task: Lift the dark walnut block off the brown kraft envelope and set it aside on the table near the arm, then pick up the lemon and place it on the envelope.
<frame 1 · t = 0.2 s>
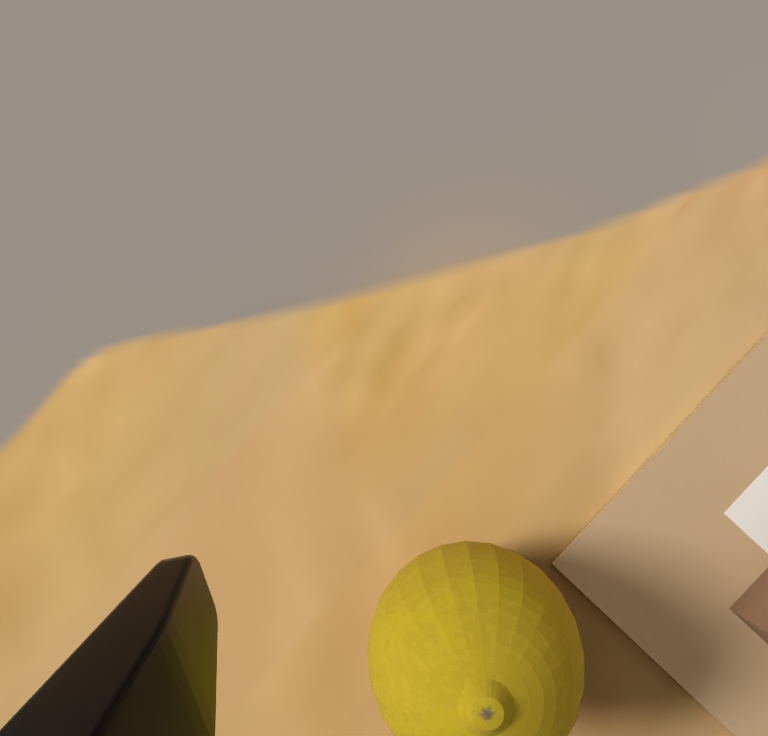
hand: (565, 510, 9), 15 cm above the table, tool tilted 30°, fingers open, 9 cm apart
lemon: (463, 608, 23), on the table
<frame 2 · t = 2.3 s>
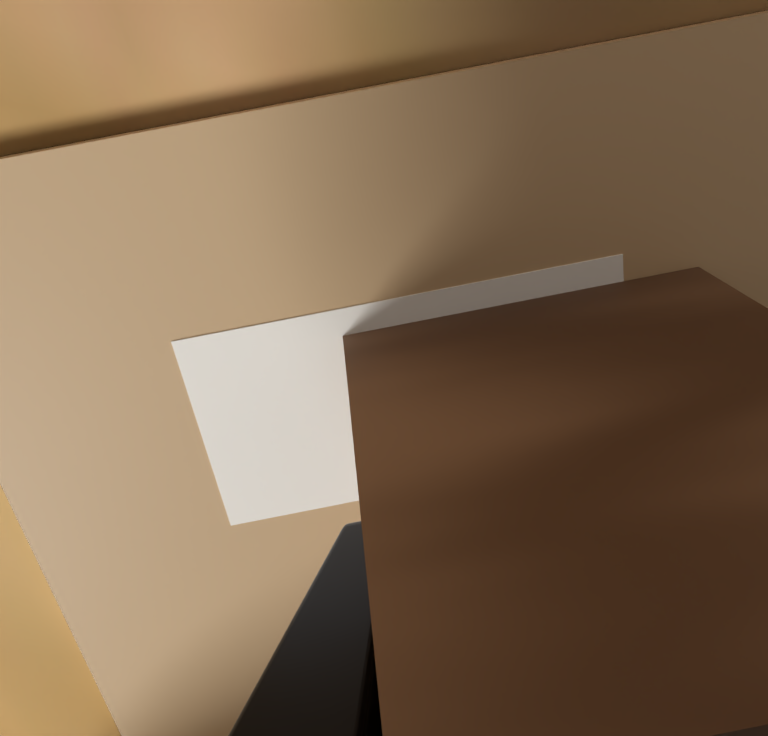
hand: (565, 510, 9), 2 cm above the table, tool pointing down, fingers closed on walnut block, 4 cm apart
walnut block: (535, 453, 10), resting on envelope, touching gripper
envelope: (529, 441, 10), on the table
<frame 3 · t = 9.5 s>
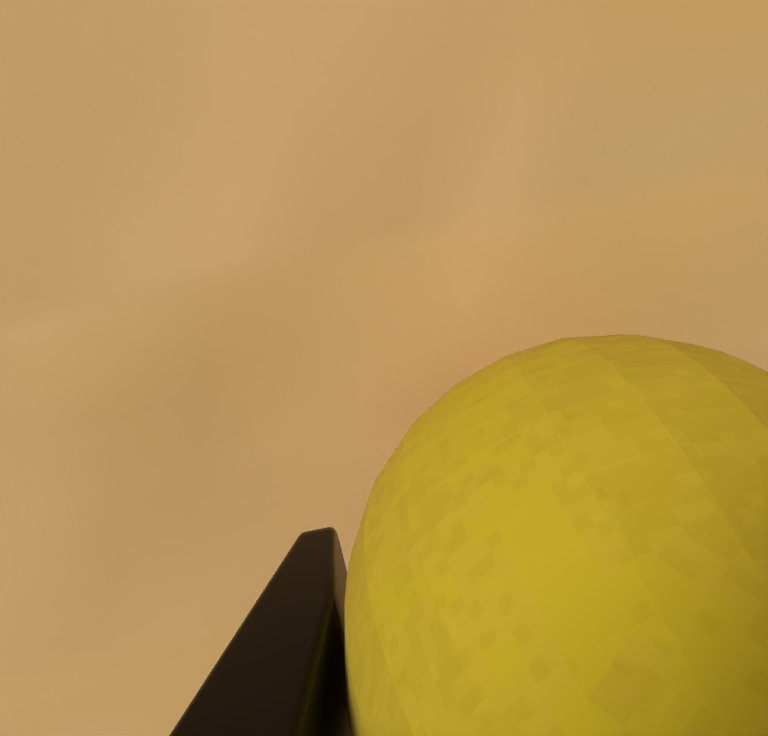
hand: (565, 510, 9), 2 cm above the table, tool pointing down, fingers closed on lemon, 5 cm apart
lemon: (520, 426, 11), on the table, touching gripper
when the fingers open (3 cm above the table, at t = 13.2 s): lemon stays where it is, resting on envelope.
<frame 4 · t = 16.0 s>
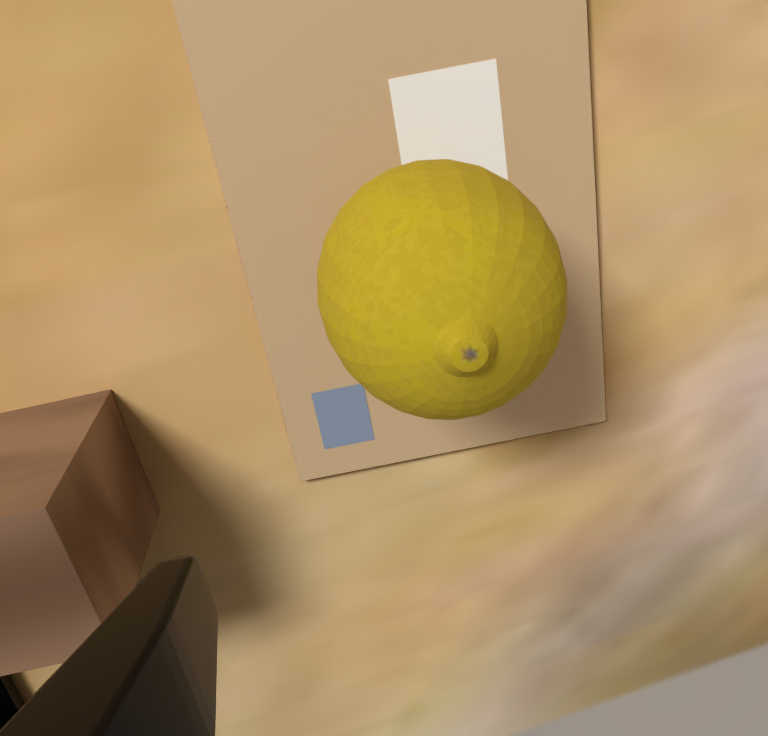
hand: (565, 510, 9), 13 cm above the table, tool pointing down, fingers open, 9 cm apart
walnut block: (66, 467, 23), on the table
lemon: (415, 238, 20), resting on envelope
envelope: (419, 238, 21), on the table
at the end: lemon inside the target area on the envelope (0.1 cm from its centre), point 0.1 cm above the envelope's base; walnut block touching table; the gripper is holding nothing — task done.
